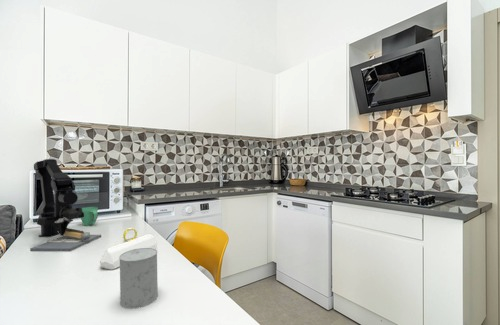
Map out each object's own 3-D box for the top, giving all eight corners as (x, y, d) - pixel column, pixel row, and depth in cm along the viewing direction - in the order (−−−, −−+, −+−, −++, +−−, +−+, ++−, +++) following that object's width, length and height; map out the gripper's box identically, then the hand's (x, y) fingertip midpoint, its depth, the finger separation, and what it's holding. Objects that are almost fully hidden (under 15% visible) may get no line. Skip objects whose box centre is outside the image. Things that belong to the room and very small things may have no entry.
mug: (76, 225, 150) (75, 208, 150) (93, 222, 158) (93, 206, 158) (87, 228, 142) (86, 211, 142) (105, 225, 150) (104, 208, 150)
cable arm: (60, 234, 122) (60, 228, 122) (68, 232, 125) (68, 226, 125) (84, 239, 114) (83, 233, 114) (92, 237, 117) (91, 230, 117)
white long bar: (112, 262, 84) (163, 241, 106) (100, 249, 87) (152, 231, 109) (105, 279, 86) (157, 254, 108) (93, 266, 88) (146, 244, 110)
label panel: (30, 251, 107) (30, 245, 107) (66, 236, 127) (66, 232, 127) (72, 251, 106) (72, 245, 106) (102, 237, 126) (102, 232, 126)
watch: (125, 243, 117) (124, 230, 117) (123, 241, 119) (121, 229, 119) (138, 239, 122) (137, 227, 121) (135, 237, 123) (134, 226, 123)
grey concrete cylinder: (162, 288, 74) (161, 247, 74) (150, 308, 64) (150, 260, 64) (129, 290, 73) (129, 248, 73) (113, 309, 64) (112, 261, 64)
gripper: (54, 206, 109) (54, 242, 108) (92, 200, 126) (92, 231, 126) (36, 205, 112) (36, 240, 111) (75, 200, 130) (75, 230, 129)
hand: (62, 235), depth 119 cm, fingers closed
